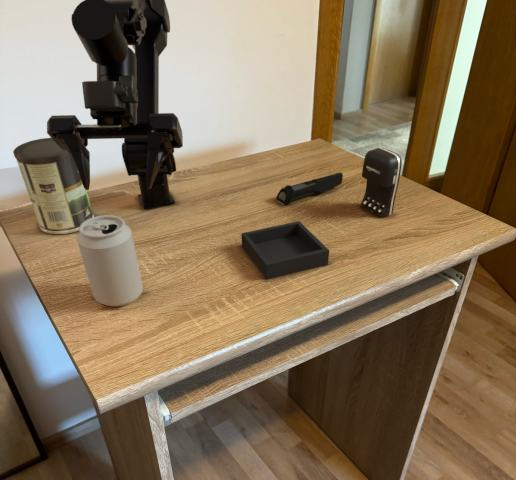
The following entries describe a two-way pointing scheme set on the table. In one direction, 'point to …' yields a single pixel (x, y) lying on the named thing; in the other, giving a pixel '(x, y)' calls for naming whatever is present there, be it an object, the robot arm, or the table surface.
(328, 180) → the electric trimmer
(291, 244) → the black square open tray
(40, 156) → the coffee can
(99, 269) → the can
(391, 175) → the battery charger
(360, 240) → the table surface
